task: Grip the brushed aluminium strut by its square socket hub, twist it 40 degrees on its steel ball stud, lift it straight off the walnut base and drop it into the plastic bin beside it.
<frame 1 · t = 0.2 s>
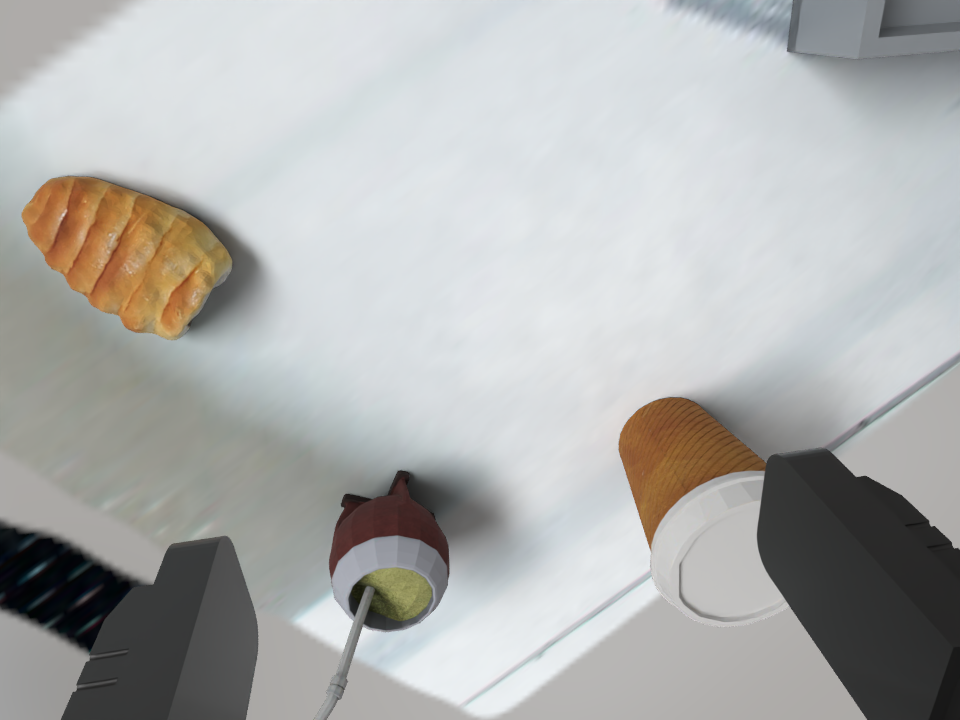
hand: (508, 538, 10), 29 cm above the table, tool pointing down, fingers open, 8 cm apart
mate gourd: (383, 510, 46), on the table
disposable coffee cup: (663, 436, 46), on the table
pastry: (146, 253, 37), on the table
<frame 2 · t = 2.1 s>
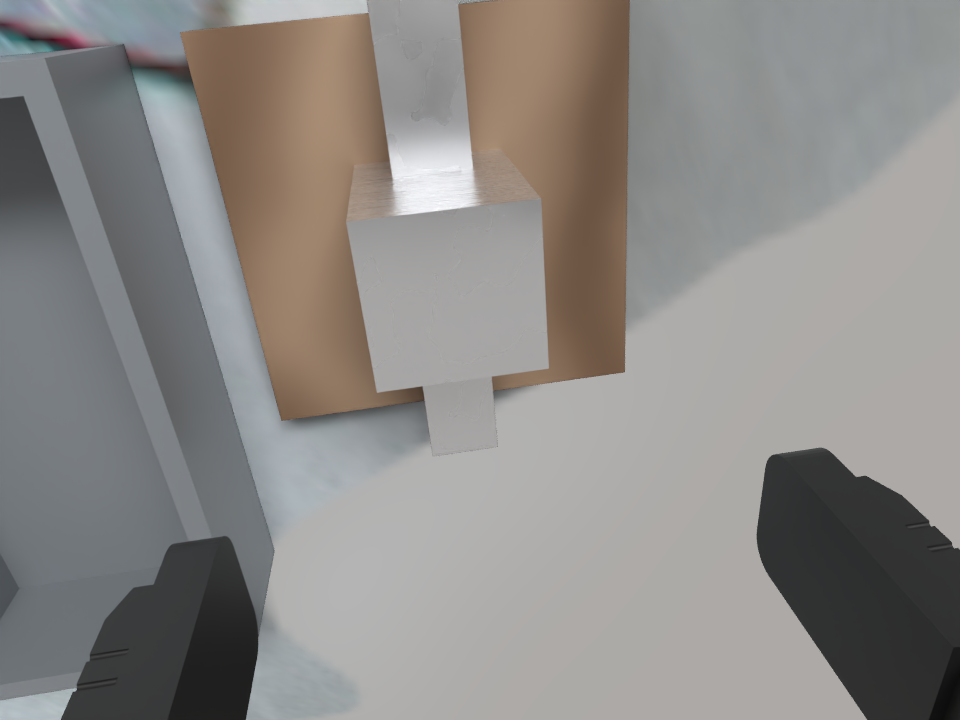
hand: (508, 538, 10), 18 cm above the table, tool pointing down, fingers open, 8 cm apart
bin: (60, 364, 27), on the table
strut: (436, 228, 25), point 1 cm above the table, touching stud base
stud base: (433, 216, 26), on the table
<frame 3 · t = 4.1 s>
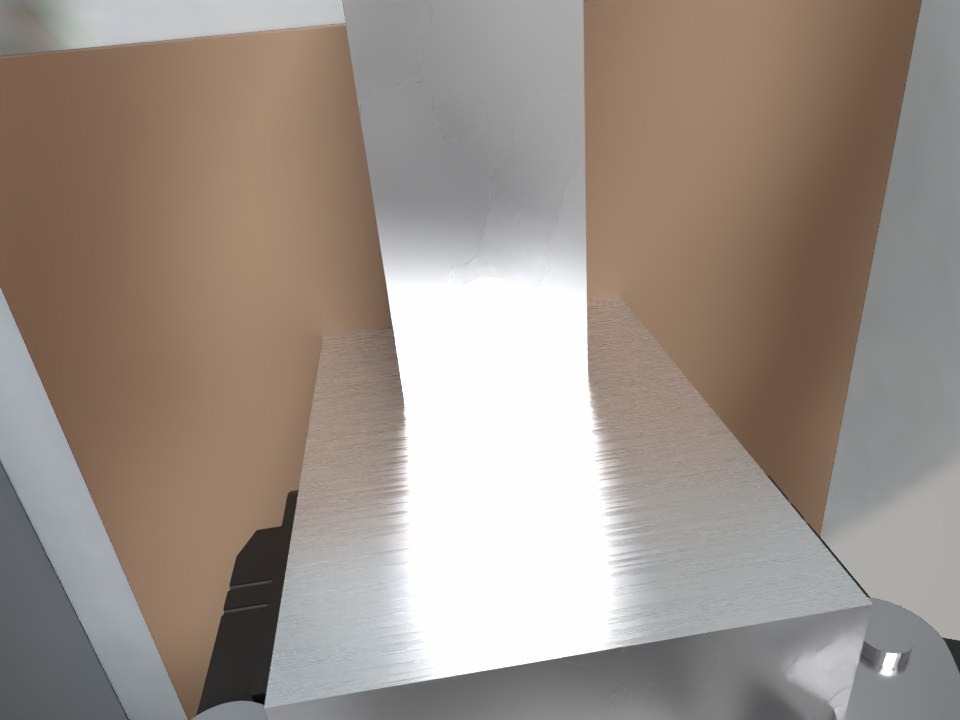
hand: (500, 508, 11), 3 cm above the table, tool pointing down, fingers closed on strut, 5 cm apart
strut: (485, 440, 13), point 2 cm above the table, touching gripper, stud base
stud base: (475, 399, 14), on the table
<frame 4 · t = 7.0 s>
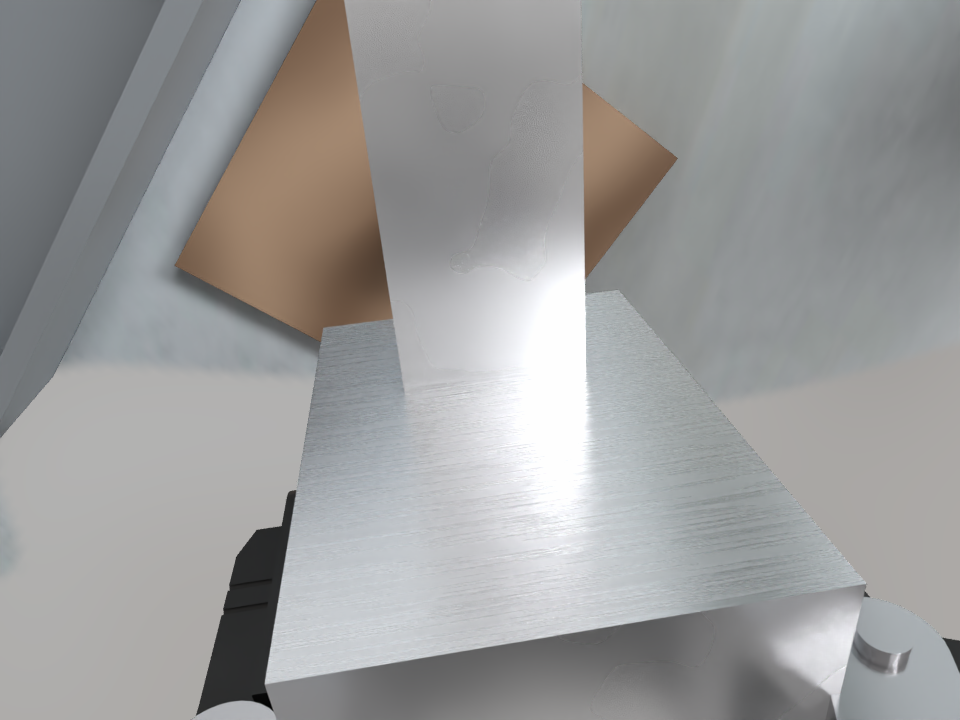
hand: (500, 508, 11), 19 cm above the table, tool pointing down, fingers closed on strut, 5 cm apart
strut: (485, 432, 13), point 17 cm above the table, touching gripper
stud base: (426, 201, 28), on the table
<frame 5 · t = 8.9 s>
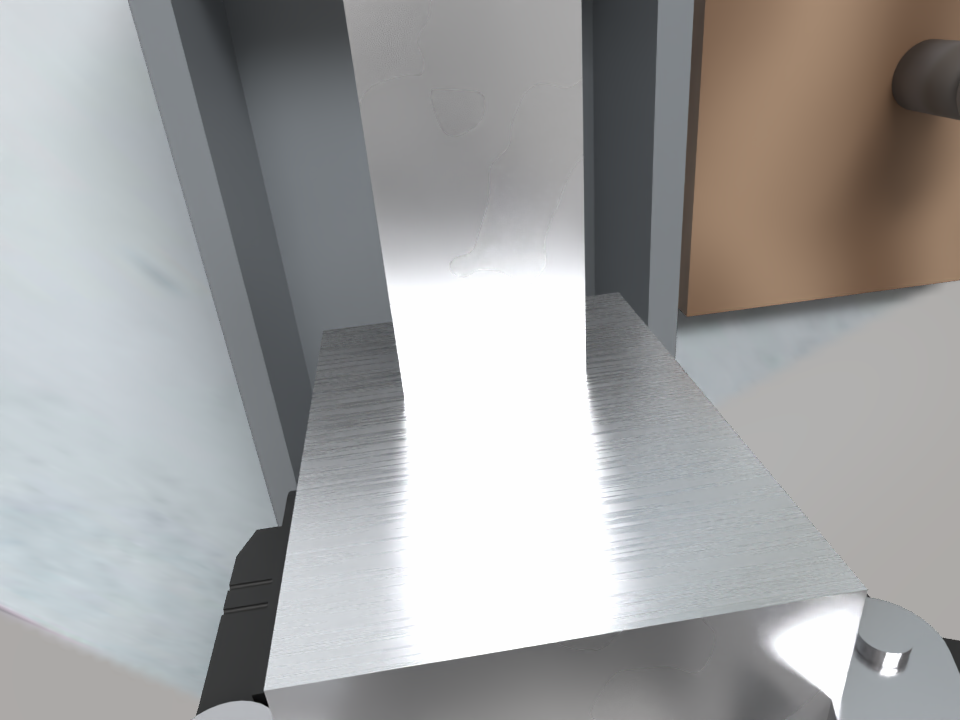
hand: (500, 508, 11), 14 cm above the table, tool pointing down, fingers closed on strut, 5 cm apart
bin: (440, 247, 23), on the table
strut: (485, 435, 13), point 12 cm above the table, touching gripper
stud base: (891, 71, 22), on the table
when the fingers open (11 cm above the table, at t = 10.1 s): strut drops 9 cm, resting on bin.
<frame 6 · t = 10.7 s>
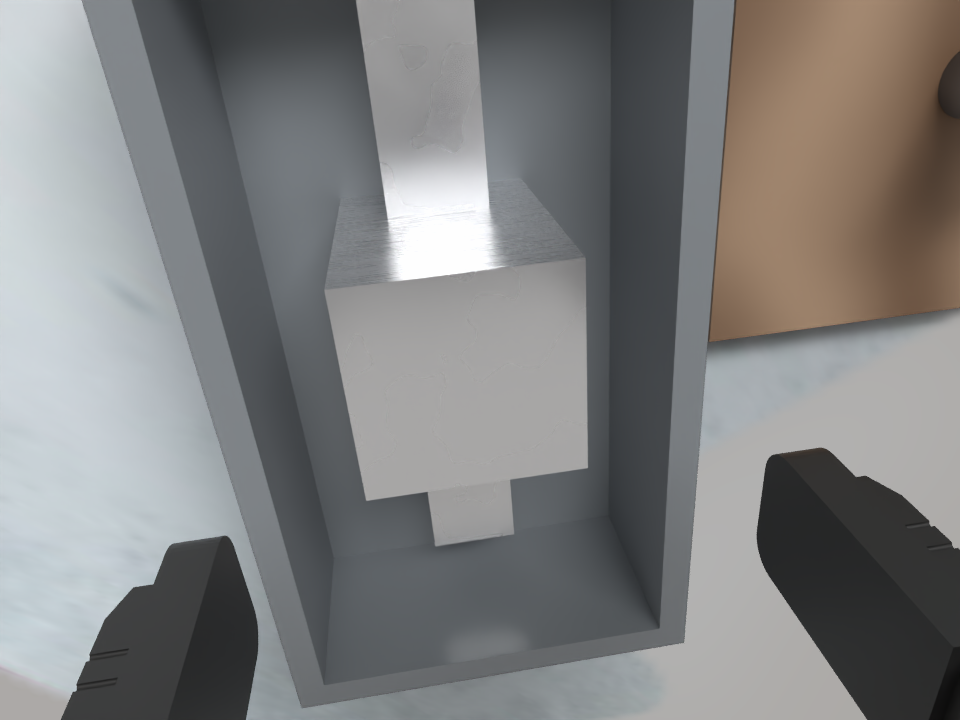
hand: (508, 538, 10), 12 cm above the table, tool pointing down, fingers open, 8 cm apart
bin: (441, 267, 21), on the table
strut: (441, 273, 20), point 1 cm above the table, touching bin
stud base: (934, 75, 20), on the table
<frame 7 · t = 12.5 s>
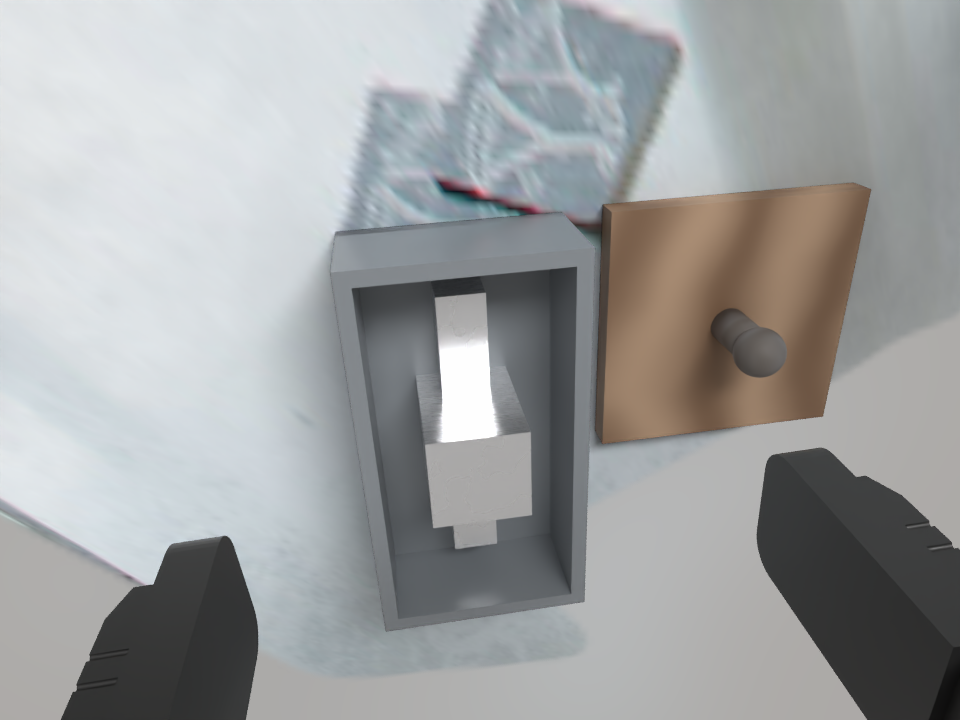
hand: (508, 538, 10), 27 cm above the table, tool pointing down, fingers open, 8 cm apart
bin: (462, 403, 40), on the table
strut: (463, 409, 40), point 1 cm above the table, touching bin
stud base: (716, 314, 40), on the table
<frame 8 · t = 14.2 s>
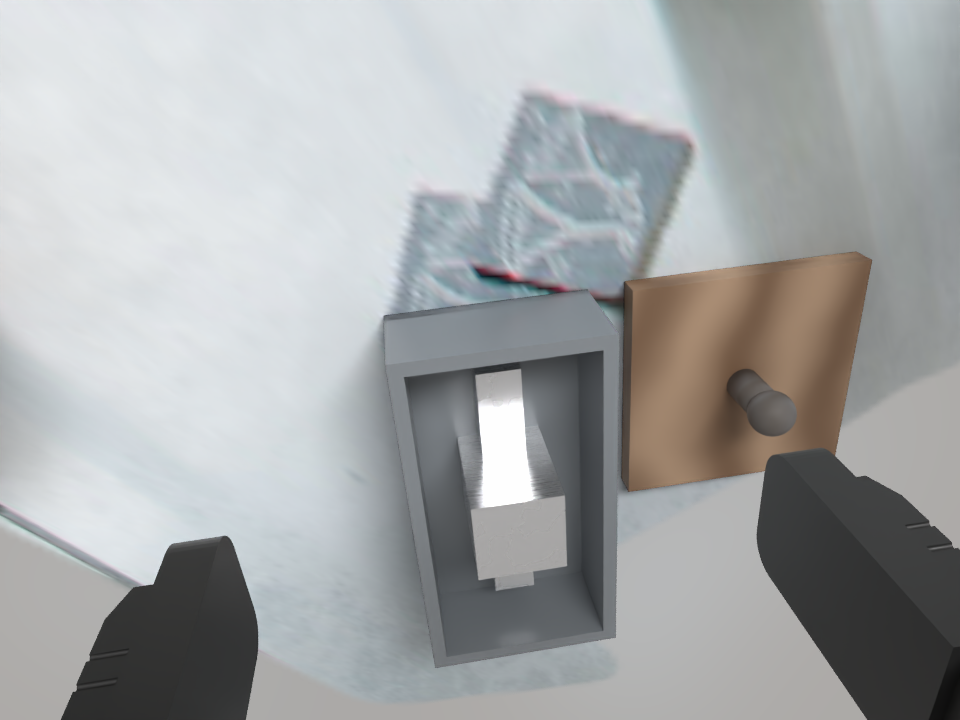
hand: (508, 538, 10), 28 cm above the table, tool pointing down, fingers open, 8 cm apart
bin: (499, 458, 44), on the table
strut: (500, 464, 44), point 1 cm above the table, touching bin
stud base: (731, 371, 44), on the table
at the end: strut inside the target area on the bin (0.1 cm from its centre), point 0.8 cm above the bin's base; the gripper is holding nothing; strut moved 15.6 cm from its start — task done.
